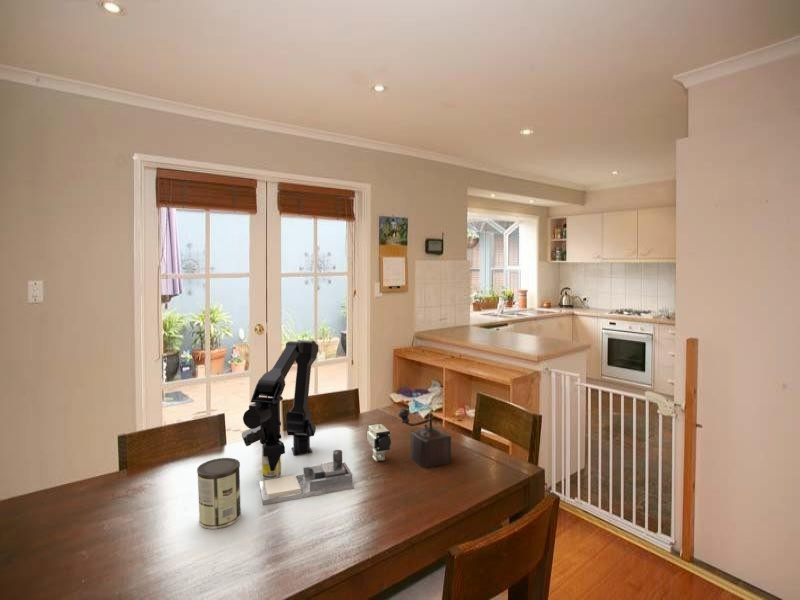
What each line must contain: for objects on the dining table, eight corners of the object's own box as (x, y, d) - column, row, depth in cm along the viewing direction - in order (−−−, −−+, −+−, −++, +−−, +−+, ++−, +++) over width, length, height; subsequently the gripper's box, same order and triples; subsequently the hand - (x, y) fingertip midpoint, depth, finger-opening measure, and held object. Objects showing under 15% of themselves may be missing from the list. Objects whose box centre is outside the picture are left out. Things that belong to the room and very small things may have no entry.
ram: (311, 476, 140) (310, 451, 140) (339, 471, 143) (339, 446, 143) (315, 485, 134) (315, 459, 133) (345, 480, 137) (345, 455, 137)
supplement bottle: (273, 470, 147) (273, 439, 147) (284, 475, 144) (283, 443, 143) (258, 476, 143) (258, 444, 142) (269, 481, 139) (268, 449, 139)
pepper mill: (434, 451, 163) (435, 401, 162) (451, 463, 153) (452, 410, 152) (395, 459, 156) (395, 407, 155) (410, 472, 146) (411, 417, 145)
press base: (259, 485, 137) (259, 473, 137) (344, 471, 147) (343, 460, 146) (262, 504, 126) (262, 491, 126) (354, 488, 136) (354, 476, 135)
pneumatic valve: (379, 451, 163) (379, 418, 162) (391, 464, 152) (391, 429, 151) (364, 454, 160) (364, 420, 160) (375, 467, 150) (375, 431, 149)
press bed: (265, 482, 136) (265, 480, 136) (295, 477, 140) (295, 475, 140) (268, 496, 128) (267, 494, 128) (300, 491, 131) (300, 488, 131)
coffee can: (217, 505, 126) (216, 455, 125) (249, 511, 123) (248, 460, 121) (189, 525, 116) (187, 471, 115) (222, 532, 113) (221, 477, 112)
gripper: (241, 411, 148) (242, 458, 149) (244, 431, 130) (245, 484, 132) (277, 408, 152) (278, 453, 153) (284, 426, 134) (285, 477, 136)
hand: (271, 466), depth 143 cm, fingers closed on supplement bottle, 6 cm apart
